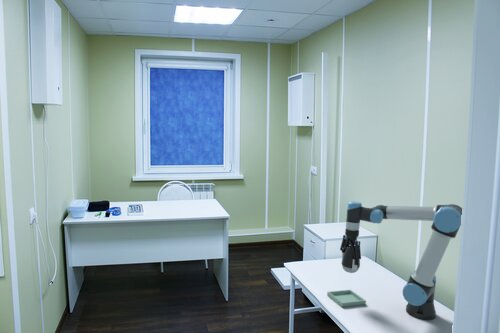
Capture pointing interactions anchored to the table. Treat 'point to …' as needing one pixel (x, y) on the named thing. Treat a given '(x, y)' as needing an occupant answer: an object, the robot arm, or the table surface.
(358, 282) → the table surface
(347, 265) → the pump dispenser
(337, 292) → the tray
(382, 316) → the table surface
